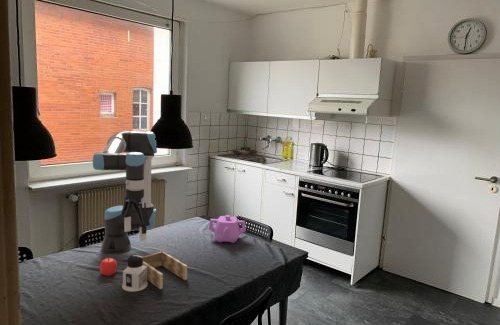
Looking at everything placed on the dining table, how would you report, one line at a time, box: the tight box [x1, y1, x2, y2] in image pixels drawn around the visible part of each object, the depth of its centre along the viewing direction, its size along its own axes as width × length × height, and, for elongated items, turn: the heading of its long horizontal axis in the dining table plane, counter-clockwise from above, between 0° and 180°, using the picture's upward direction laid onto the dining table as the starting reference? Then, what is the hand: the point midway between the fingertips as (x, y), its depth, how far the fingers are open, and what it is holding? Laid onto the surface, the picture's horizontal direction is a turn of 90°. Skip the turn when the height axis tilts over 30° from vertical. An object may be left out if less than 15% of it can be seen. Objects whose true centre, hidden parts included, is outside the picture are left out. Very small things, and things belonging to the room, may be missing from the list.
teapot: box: [208, 214, 246, 244], centre depth 228 cm, size 19×18×15 cm
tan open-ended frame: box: [141, 250, 188, 290], centre depth 180 cm, size 21×14×7 cm
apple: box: [99, 257, 118, 277], centre depth 179 cm, size 8×8×8 cm
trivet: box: [121, 281, 149, 293], centre depth 170 cm, size 11×11×1 cm
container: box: [122, 254, 148, 289], centre depth 169 cm, size 8×8×13 cm
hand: (135, 235), depth 166 cm, fingers open, 13 cm apart
